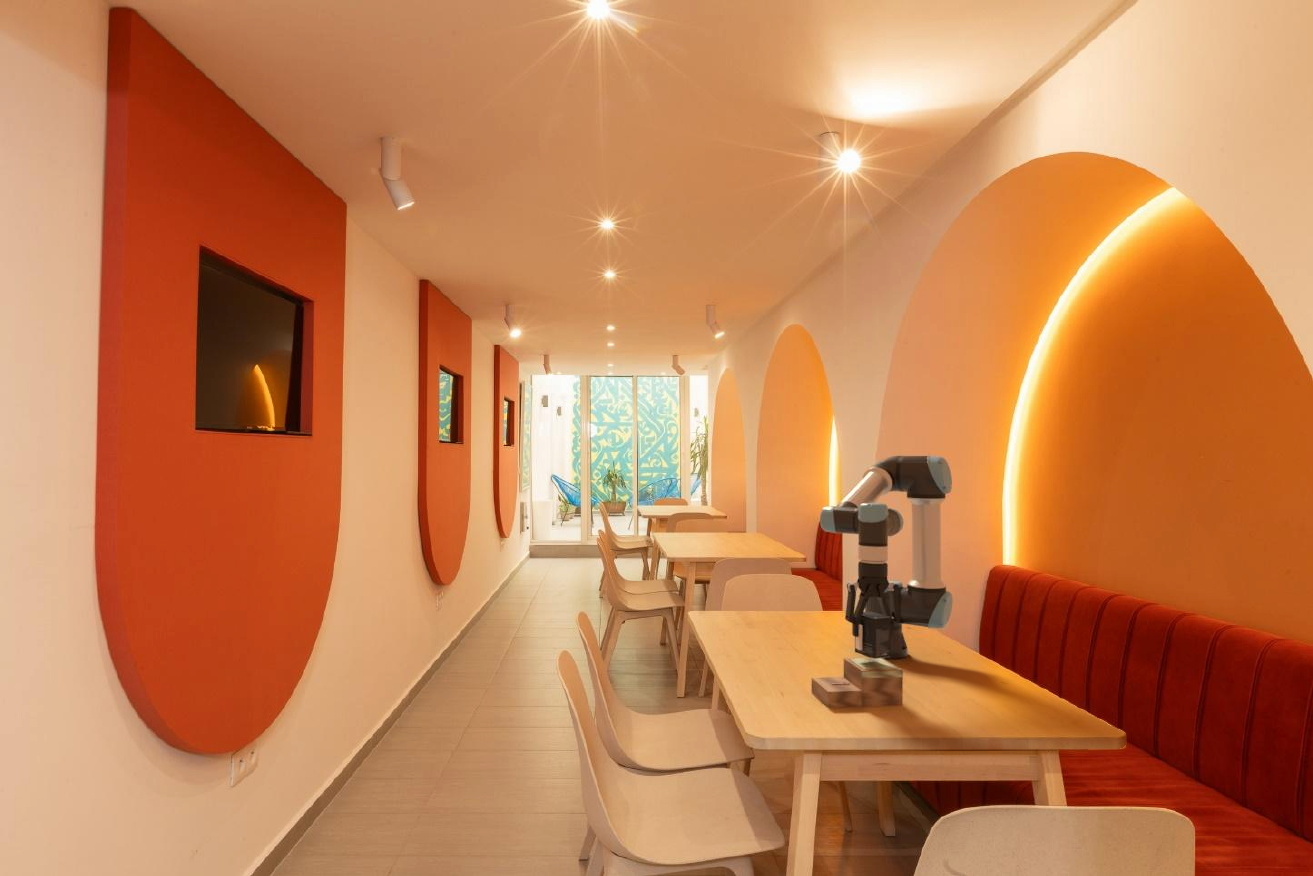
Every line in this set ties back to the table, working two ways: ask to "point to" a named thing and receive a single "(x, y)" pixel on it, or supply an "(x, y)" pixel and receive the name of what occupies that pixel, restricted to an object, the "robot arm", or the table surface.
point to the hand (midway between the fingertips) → (872, 648)
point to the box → (875, 635)
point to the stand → (862, 684)
